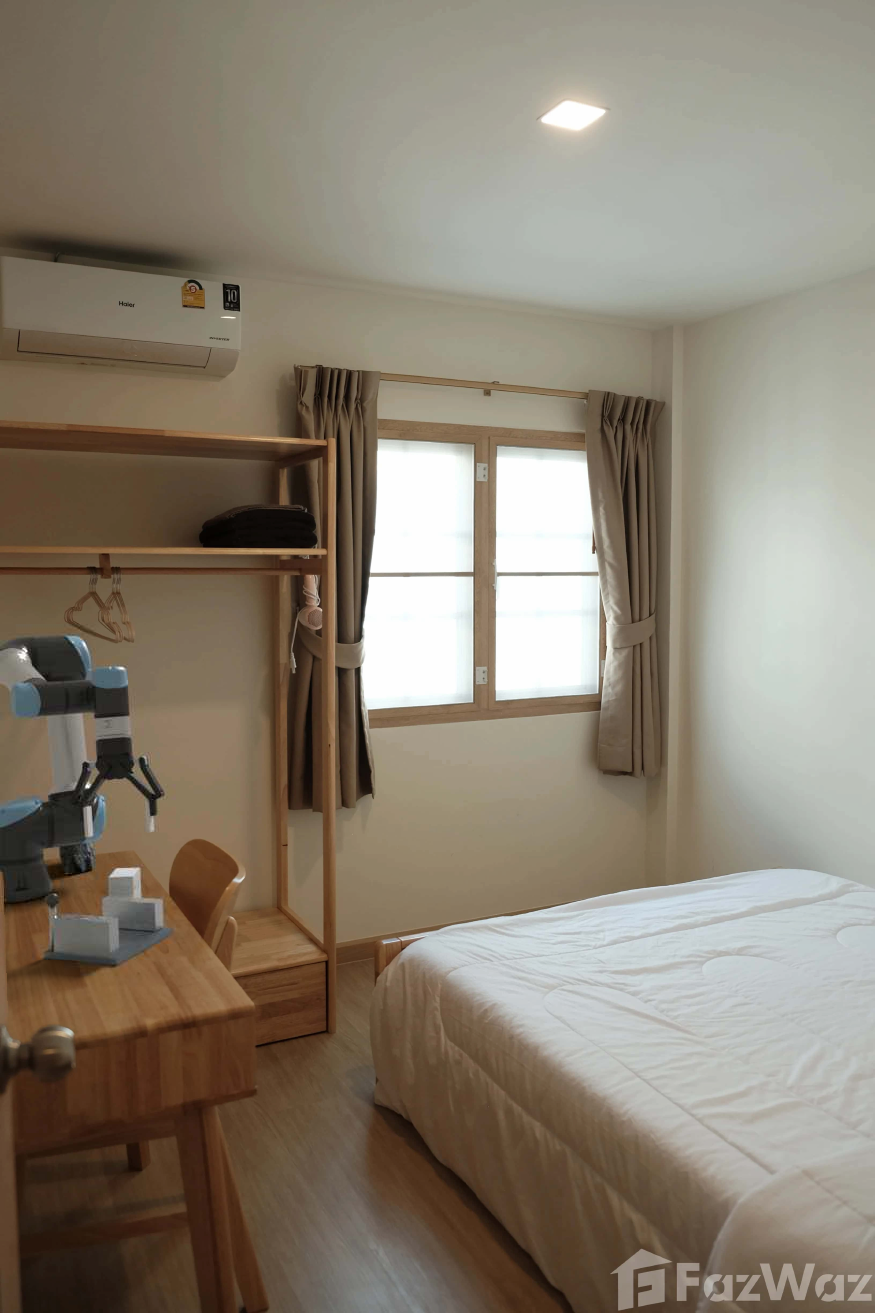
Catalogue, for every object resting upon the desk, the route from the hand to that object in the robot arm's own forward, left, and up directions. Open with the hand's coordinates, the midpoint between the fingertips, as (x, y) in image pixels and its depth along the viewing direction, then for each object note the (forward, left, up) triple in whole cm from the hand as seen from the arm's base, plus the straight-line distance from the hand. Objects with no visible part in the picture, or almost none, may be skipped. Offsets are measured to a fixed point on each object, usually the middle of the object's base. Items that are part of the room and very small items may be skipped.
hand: (119, 834), depth 217 cm
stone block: (-43, -43, -21) cm, 64 cm away
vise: (+11, +5, -21) cm, 24 cm away
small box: (-6, -3, -21) cm, 22 cm away
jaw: (+3, +5, -19) cm, 20 cm away
